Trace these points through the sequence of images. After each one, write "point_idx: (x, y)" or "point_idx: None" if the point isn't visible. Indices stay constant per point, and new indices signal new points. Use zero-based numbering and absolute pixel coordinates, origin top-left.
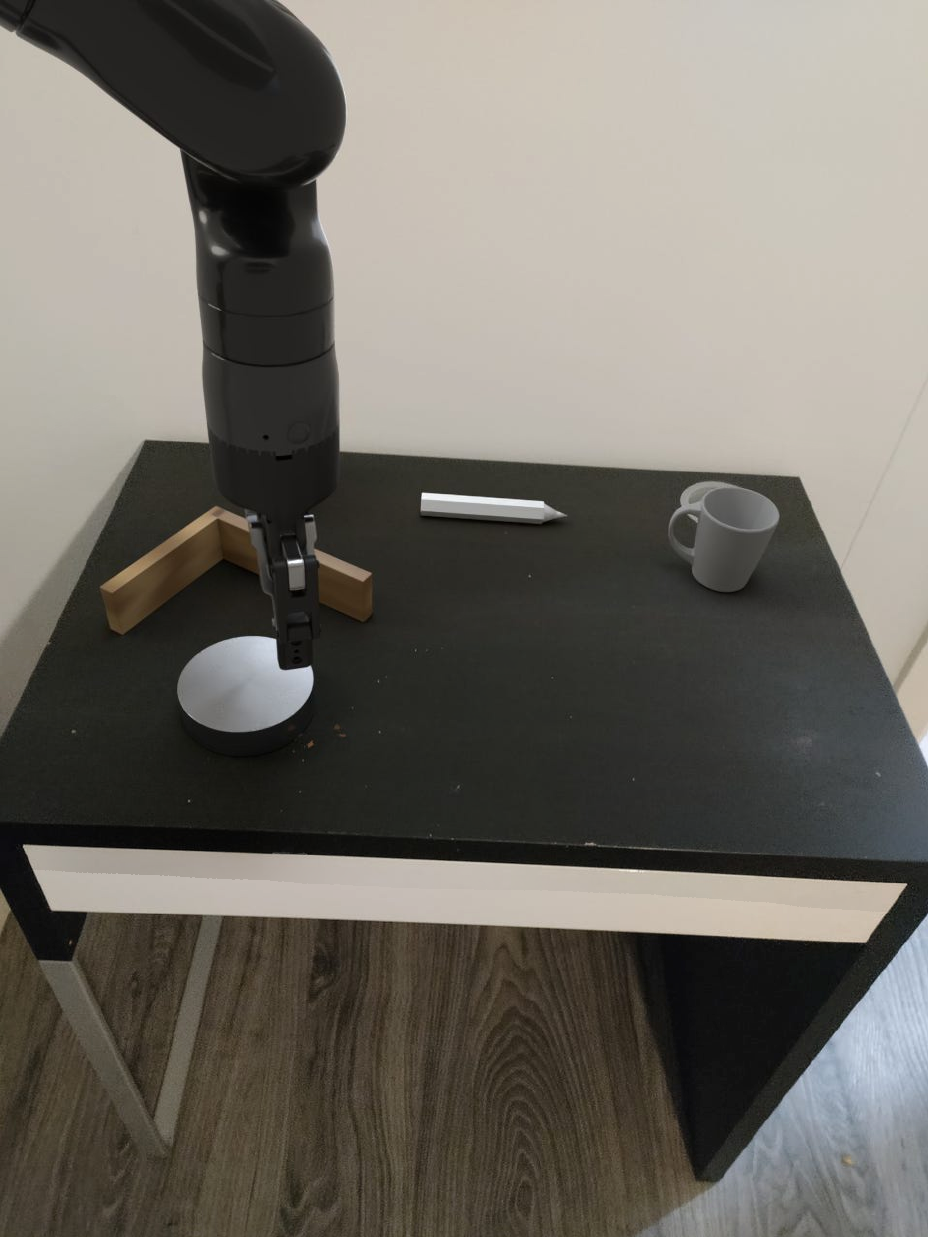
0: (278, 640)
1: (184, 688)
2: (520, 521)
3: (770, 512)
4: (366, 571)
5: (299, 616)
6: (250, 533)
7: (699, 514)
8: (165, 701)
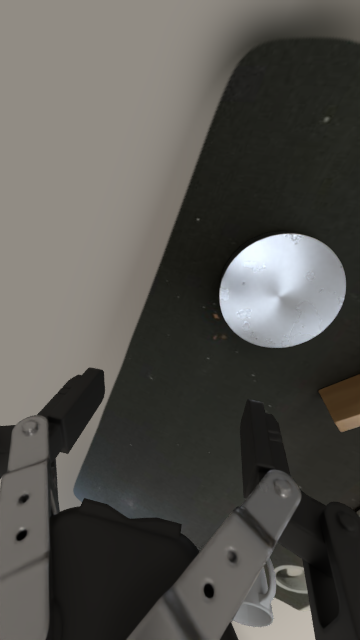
0: (61, 400)
1: (299, 241)
2: (357, 512)
3: (239, 616)
4: (346, 429)
5: (2, 468)
6: (16, 624)
7: (259, 598)
8: (317, 220)
